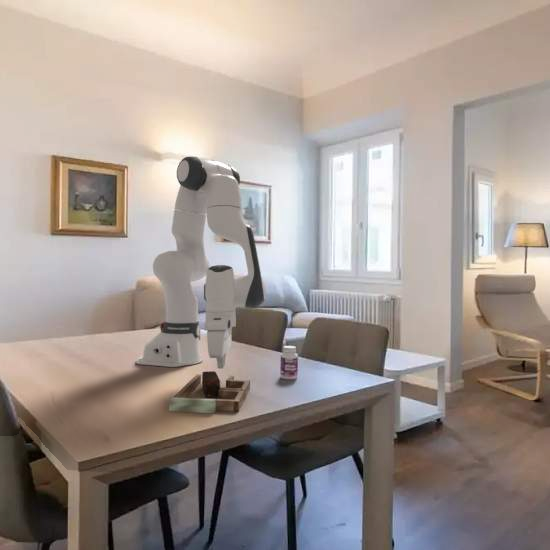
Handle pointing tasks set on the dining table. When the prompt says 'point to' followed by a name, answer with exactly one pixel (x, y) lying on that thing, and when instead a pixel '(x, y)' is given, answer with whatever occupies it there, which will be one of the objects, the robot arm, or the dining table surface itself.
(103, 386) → the dining table surface
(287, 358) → the pill bottle
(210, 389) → the brick
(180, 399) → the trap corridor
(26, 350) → the dining table surface
